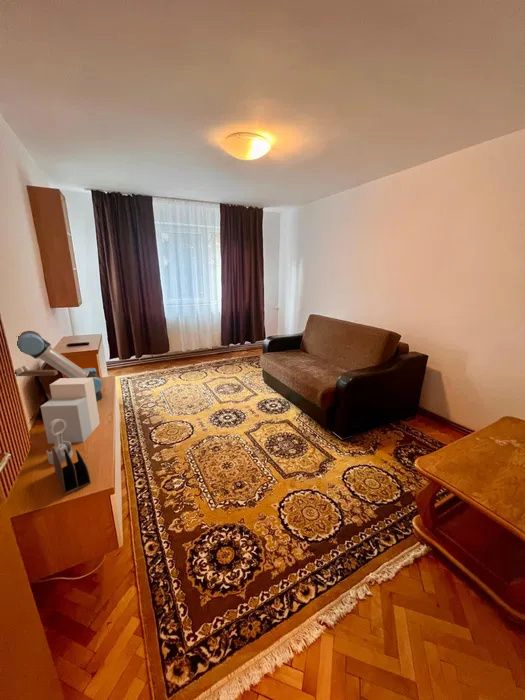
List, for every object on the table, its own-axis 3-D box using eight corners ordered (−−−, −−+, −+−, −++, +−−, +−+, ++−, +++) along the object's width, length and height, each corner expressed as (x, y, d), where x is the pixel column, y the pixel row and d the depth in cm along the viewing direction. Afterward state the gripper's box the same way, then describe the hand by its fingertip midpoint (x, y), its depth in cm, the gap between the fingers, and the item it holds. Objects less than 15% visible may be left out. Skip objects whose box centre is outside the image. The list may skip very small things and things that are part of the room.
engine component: (43, 462, 137) (60, 465, 136) (35, 425, 132) (53, 427, 130) (62, 449, 148) (79, 452, 146) (55, 414, 142) (72, 416, 141)
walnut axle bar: (11, 374, 157) (10, 370, 156) (57, 373, 159) (57, 369, 159) (7, 376, 154) (6, 372, 154) (54, 375, 157) (54, 371, 156)
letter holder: (64, 495, 118) (58, 466, 114) (55, 472, 131) (49, 445, 128) (91, 484, 124) (86, 456, 121) (79, 462, 138) (75, 437, 134)
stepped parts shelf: (68, 424, 172) (60, 378, 164) (99, 423, 174) (92, 377, 166) (48, 443, 153) (37, 392, 145) (83, 442, 155) (74, 391, 147)
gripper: (4, 388, 165) (38, 369, 164) (-19, 400, 150) (18, 378, 149) (-5, 378, 163) (29, 358, 162) (-30, 389, 148) (8, 367, 147)
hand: (24, 368), depth 155 cm, fingers closed on walnut axle bar, 3 cm apart
